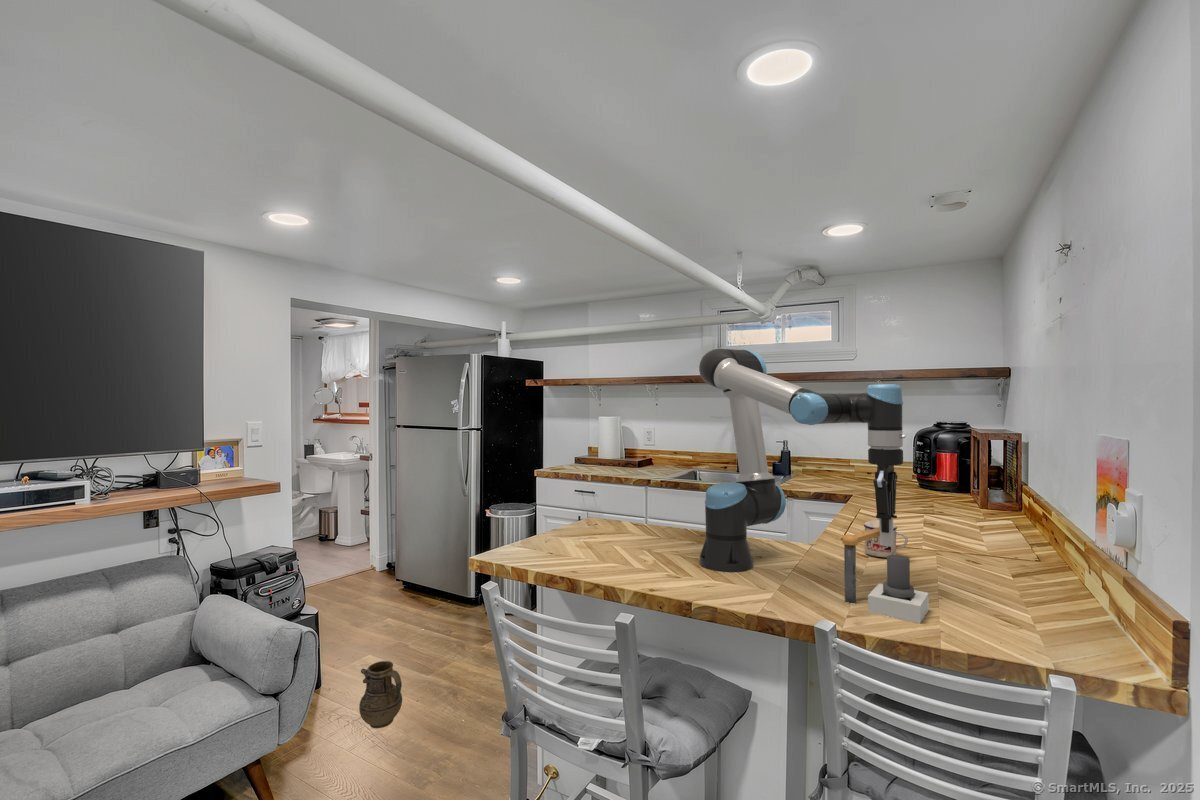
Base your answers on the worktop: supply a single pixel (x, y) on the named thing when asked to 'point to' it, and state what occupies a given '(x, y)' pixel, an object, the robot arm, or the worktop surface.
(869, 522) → the teacup with lid
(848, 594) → the clip post
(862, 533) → the clip
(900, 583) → the plug
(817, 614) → the worktop surface
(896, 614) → the socket block
